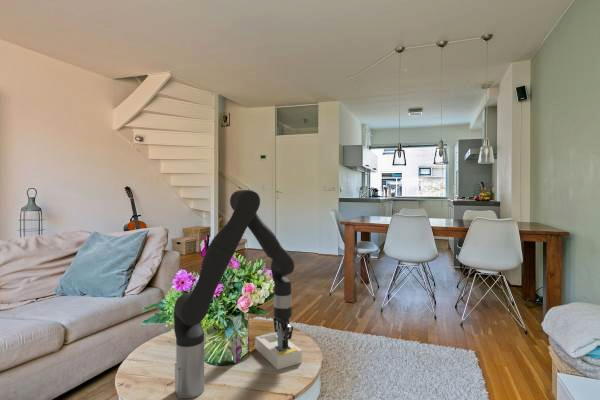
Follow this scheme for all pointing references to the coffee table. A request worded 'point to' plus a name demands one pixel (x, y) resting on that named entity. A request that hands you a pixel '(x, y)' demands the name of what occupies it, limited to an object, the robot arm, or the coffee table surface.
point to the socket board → (270, 351)
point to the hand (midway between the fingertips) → (282, 346)
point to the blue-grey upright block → (280, 341)
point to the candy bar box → (238, 346)
